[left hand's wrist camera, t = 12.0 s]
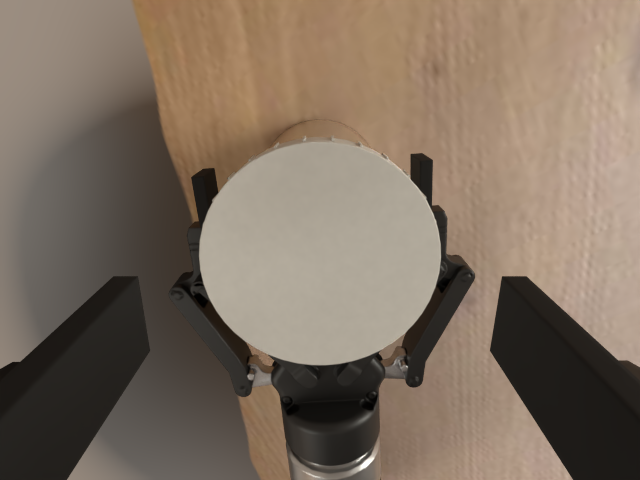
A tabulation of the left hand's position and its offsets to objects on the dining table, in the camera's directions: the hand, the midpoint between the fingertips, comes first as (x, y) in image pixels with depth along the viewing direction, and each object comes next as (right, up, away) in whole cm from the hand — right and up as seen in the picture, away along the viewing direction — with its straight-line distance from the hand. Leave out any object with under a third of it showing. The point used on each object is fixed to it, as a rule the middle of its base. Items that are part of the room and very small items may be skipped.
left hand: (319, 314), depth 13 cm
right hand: (0, +7, +13) cm, 15 cm away
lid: (0, +1, +4) cm, 4 cm away
